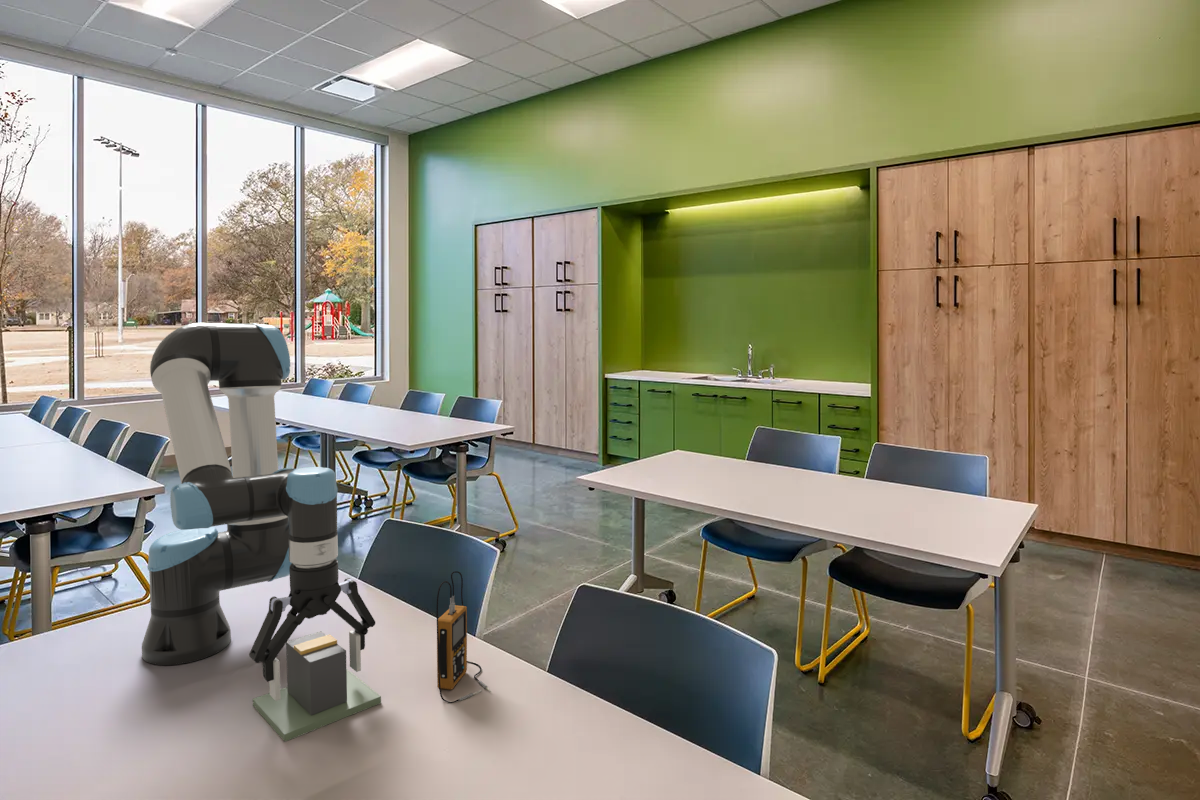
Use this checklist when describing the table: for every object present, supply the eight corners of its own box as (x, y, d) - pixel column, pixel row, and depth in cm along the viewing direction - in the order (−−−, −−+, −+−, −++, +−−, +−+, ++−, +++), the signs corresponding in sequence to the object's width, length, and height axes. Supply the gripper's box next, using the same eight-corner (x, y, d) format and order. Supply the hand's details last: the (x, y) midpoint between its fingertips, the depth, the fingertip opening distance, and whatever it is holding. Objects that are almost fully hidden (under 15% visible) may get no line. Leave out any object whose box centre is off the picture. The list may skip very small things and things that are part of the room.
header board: (252, 705, 114) (252, 678, 114) (344, 673, 125) (344, 648, 125) (284, 741, 104) (283, 712, 104) (381, 702, 116) (380, 676, 115)
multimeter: (482, 708, 115) (482, 595, 113) (427, 701, 117) (426, 589, 115) (510, 667, 129) (510, 565, 127) (461, 661, 131) (461, 561, 129)
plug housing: (287, 691, 116) (285, 638, 115) (322, 679, 121) (321, 627, 120) (310, 715, 109) (309, 658, 108) (347, 701, 114) (346, 646, 113)
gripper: (240, 586, 101) (245, 720, 103) (393, 550, 119) (395, 665, 121) (224, 572, 106) (229, 700, 108) (373, 540, 124) (375, 651, 126)
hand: (316, 682), depth 115 cm, fingers open, 13 cm apart
